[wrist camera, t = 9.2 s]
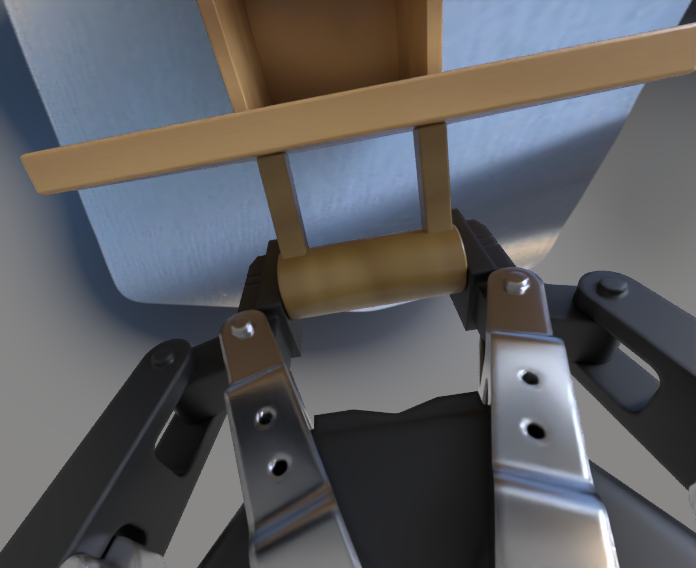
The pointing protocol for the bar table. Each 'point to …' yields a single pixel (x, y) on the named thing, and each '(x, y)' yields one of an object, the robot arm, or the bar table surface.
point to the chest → (319, 45)
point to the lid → (361, 124)
